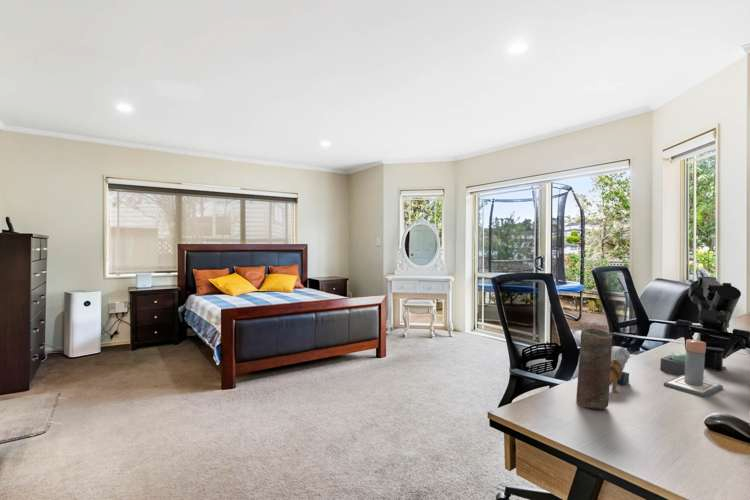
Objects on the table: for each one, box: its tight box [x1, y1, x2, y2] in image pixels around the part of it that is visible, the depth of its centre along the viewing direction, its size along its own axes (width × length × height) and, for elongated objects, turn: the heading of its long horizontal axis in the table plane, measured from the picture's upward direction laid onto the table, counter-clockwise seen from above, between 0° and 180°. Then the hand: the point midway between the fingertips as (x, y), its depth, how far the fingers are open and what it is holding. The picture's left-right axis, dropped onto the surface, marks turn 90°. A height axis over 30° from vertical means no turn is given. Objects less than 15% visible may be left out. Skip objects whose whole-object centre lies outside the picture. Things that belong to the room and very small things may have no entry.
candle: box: [575, 328, 613, 410], centre depth 100 cm, size 8×7×20 cm
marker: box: [684, 339, 706, 386], centre depth 115 cm, size 5×5×13 cm
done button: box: [671, 352, 686, 363], centre depth 129 cm, size 4×4×3 cm
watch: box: [610, 345, 631, 387], centre depth 118 cm, size 6×8×11 cm
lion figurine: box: [610, 359, 622, 394], centre depth 110 cm, size 15×5×9 cm, turn 115°
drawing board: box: [663, 375, 724, 398], centre depth 115 cm, size 14×10×1 cm
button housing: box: [659, 354, 685, 376], centre depth 129 cm, size 8×8×4 cm
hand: (704, 353), depth 119 cm, fingers open, 9 cm apart
